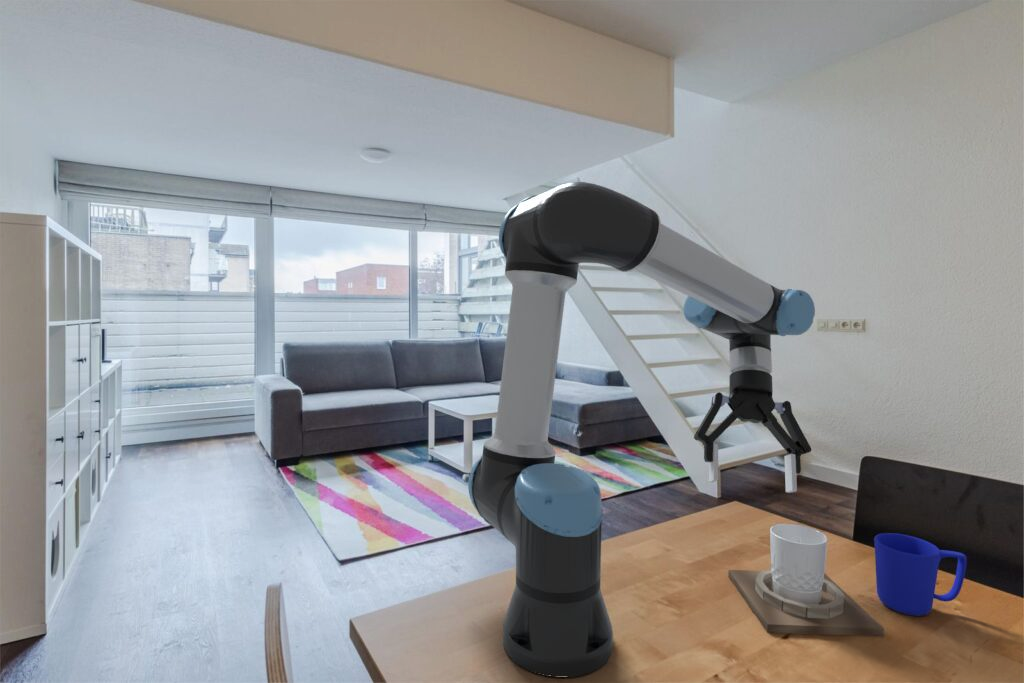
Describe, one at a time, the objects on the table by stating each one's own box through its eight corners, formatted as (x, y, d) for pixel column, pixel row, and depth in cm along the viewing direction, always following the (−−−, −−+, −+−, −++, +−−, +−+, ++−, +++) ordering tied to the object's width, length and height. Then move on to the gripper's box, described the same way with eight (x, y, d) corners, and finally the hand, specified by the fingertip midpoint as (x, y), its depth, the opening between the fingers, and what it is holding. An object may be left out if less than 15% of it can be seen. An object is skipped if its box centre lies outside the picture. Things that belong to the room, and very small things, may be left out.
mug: (980, 628, 77) (983, 560, 77) (886, 618, 80) (889, 553, 79) (946, 598, 85) (949, 537, 85) (862, 590, 88) (865, 530, 87)
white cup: (826, 591, 85) (828, 530, 84) (824, 615, 78) (826, 548, 77) (771, 578, 89) (773, 519, 88) (765, 599, 82) (766, 536, 82)
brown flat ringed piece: (767, 632, 76) (767, 614, 76) (728, 576, 92) (728, 561, 92) (883, 636, 75) (884, 618, 75) (823, 579, 91) (824, 564, 91)
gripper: (807, 387, 105) (813, 497, 98) (679, 372, 107) (676, 478, 100) (827, 376, 98) (835, 494, 91) (690, 360, 100) (687, 474, 93)
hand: (752, 486), depth 95 cm, fingers open, 13 cm apart
